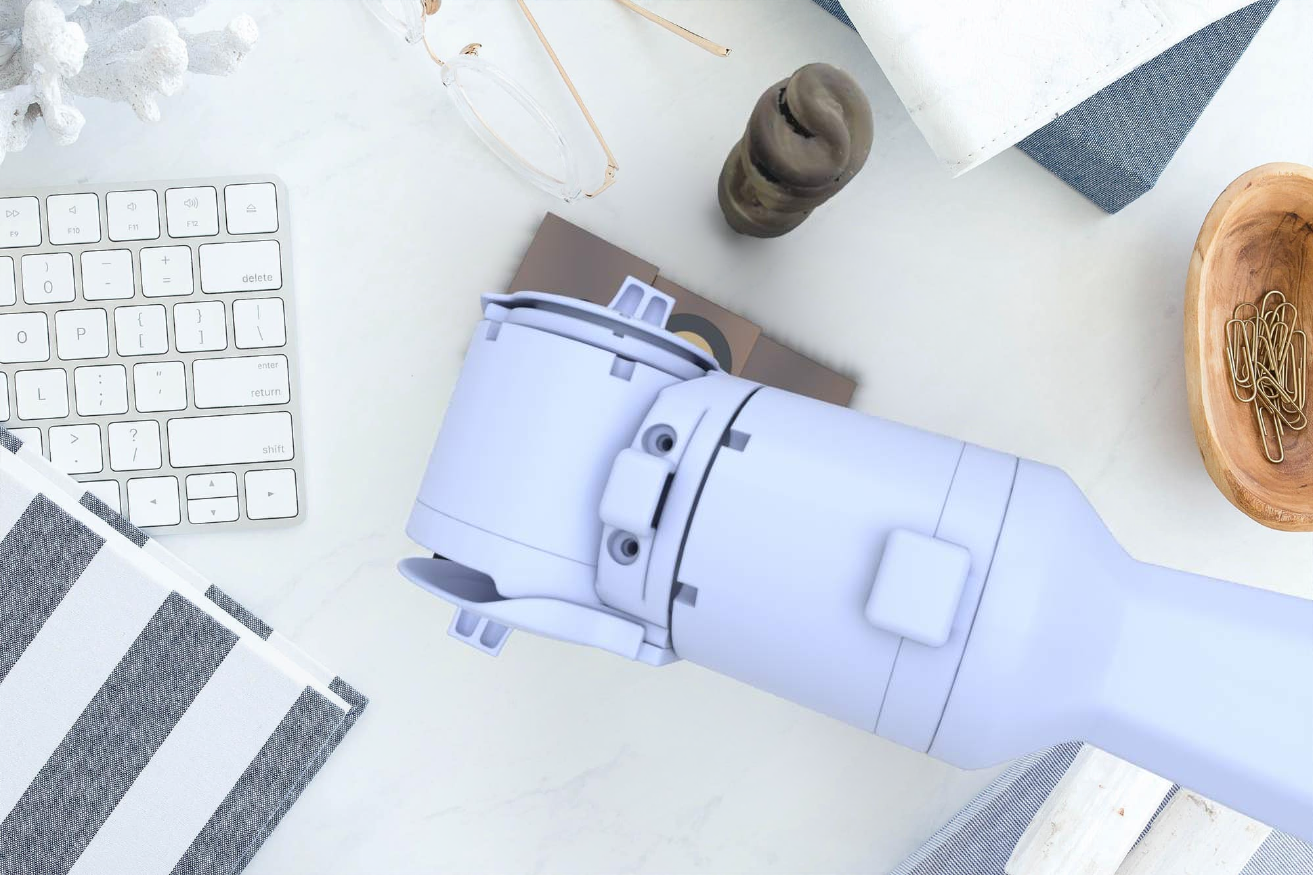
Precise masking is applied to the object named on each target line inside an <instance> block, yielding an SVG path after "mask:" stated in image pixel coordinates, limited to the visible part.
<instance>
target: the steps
mask: <svg viewBox="0 0 1313 875" xmlns="http://www.w3.org/2000/svg"><path fill="white" fill-rule="evenodd" d="M659 271H660V267H658V266H656V265H654V264H653V263H650V262H648V261H646V260H645V259H643V258H640V257H638V256H637V255H635V254H633V253H631V252H629V251H627V250H625V249H623V248H622V247H619V246H617V245H615V244H613V243H611V242H609V241H608V240H605V239H603V238H601V237H600V236H598V235H596V234H594V233H592V232H590V231H588V230H586V229H584V228H582V227H580V226H578V225H576V224H574V223H572V222H570V221H568V220H566V219H565V218H562V217H561V216H558V215H556V214H554V213H553V212H550V211H547V212H546V214H545V215H544V218H543V219H542V222H541V224H540V226H539V229H537V232H536V234H535V235H534V238H533V239H532V242H531V244H530V246H529V248H528V249H527V251H526V254H525V256H524V258H523V260H522V262H521V264H520V266H519V268H518V269H517V272H516V274H515V276H514V278H513V280H512V282H511V284H510V286H509V288H508V289H507V292H506V295H511V294H514V293H516V292H520V291H533V292H541V293H547V294H554V295H560V296H565V297H570V298H575V299H586V300H589V301H592V302H594V303H596V304H598V305H601V306H604V307H607V306H608V305H609V304H610V303H611V302H612V300H613V299H614V298H615V296H616V295H617V293H618V292H619V290H620V288H621V287H622V285H623V283H624V281H625V280H626V278H627V276H632V277H634V278H635V279H637V280H639V281H641V282H643V283H645V284H647V285H649V286H651V287H653V288H655V289H657V290H658V291H660V292H662V293H664V294H666V295H668V296H670V297H672V298H674V299H675V304H674V306H673V308H672V311H671V313H670V315H673V314H679V313H687V314H694V315H697V316H700V317H703V318H705V319H707V320H708V321H710V322H711V323H713V324H714V325H715V326H716V327H717V328H718V329H719V330H720V331H721V332H722V334H723V335H724V337H725V338H726V340H727V342H728V345H729V348H730V351H731V357H732V368H731V373H730V375H732V376H735V377H739V378H743V379H746V380H750V381H753V382H757V383H760V384H764V385H766V386H769V387H774V388H778V389H781V390H785V391H788V392H792V393H795V394H799V395H802V396H806V397H810V398H813V399H817V400H820V401H824V402H827V403H831V404H835V405H838V406H842V407H845V408H848V405H849V403H850V401H851V399H852V396H853V393H854V392H855V390H856V388H857V386H858V382H856V381H854V380H852V379H850V378H848V377H846V376H844V375H842V374H841V373H839V372H836V371H834V370H832V369H831V368H829V367H827V366H825V365H823V364H821V363H819V362H817V361H815V360H813V359H811V358H809V357H807V356H805V355H803V354H801V353H799V352H797V351H795V350H793V349H791V348H790V347H788V346H785V345H783V344H781V343H779V342H777V341H775V340H773V339H772V338H770V337H768V336H765V335H763V334H762V331H763V327H762V326H760V325H757V324H755V323H754V322H751V321H750V320H748V319H746V318H744V317H742V316H740V315H738V314H736V313H734V312H733V311H730V310H729V309H726V308H724V307H723V306H720V305H718V304H717V303H714V302H713V301H710V300H709V299H706V298H704V297H702V296H700V295H699V294H696V293H695V292H693V291H691V290H689V289H687V288H685V287H683V286H681V285H679V284H678V283H676V282H673V281H671V280H669V279H668V278H665V277H663V276H662V275H660V274H658V273H659Z"/></svg>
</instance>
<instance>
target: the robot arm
mask: <svg viewBox="0 0 1313 875" xmlns="http://www.w3.org/2000/svg"><path fill="white" fill-rule="evenodd" d="M506 294H507V293H506ZM506 294H505V293H495V292H483V293H481V294H480V296H479V299H480V307H481V311H482V315H483V317H482V319H480V320H478V321H477V322H476V325H475V328H474V330H473V332H472V333H473V334H472V336H471V339H470V342H469V344H468V347H467V351H466V354H465V357H464V359H463V363H462V365H461V368H460V371H459V373H458V376H457V379H456V382H455V385H454V388H453V391H452V393H451V397H450V399H449V402H448V404H447V408H446V411H445V414H444V417H443V419H442V423H441V425H440V428H439V431H438V434H437V437H436V439H435V442H434V446H433V448H432V451H431V454H430V457H429V460H428V462H427V465H426V468H425V471H424V474H423V477H422V479H421V483H420V486H419V488H418V490H417V494H416V498H415V500H414V503H413V506H412V509H411V511H410V514H409V517H408V520H407V523H406V525H405V529H404V532H405V535H406V536H407V537H408V538H409V539H410V540H412V541H413V542H414V543H417V544H418V545H420V546H421V547H422V548H425V549H427V550H429V551H431V552H432V553H433V555H432V557H421V556H413V557H412V556H411V557H404V558H402V559H400V560H398V562H397V564H396V569H397V570H398V573H399V574H400V575H401V576H403V577H404V578H405V579H407V580H408V581H410V582H411V583H412V584H414V585H415V586H417V587H419V588H421V589H422V590H425V591H426V592H428V593H430V594H432V595H434V596H436V597H438V598H440V599H442V600H444V601H446V602H448V603H450V604H452V605H454V606H456V610H455V612H454V615H453V617H452V619H451V622H450V623H449V627H448V628H447V631H446V634H447V636H449V637H451V638H453V639H455V640H458V641H460V642H462V643H464V644H466V645H468V646H471V647H472V648H475V649H476V650H479V651H481V652H483V653H485V654H487V655H489V656H491V657H494V658H497V657H498V656H499V654H500V652H501V651H502V650H503V647H504V645H505V644H506V642H507V640H508V639H509V637H510V636H511V635H512V633H513V631H514V630H516V631H519V632H523V633H526V634H529V635H533V636H536V637H540V638H545V639H547V640H548V639H549V640H551V641H557V642H562V643H567V644H571V645H579V646H583V647H589V648H595V649H598V650H603V651H605V652H608V653H611V654H612V653H613V654H615V655H617V656H620V657H623V658H625V659H628V660H630V661H634V662H640V663H643V664H646V665H649V666H652V667H655V668H660V667H664V666H667V665H671V664H674V663H678V662H680V661H687V662H689V663H691V664H695V665H697V666H700V667H702V668H705V669H707V670H710V671H712V672H715V673H717V674H720V675H722V676H725V677H727V678H730V679H732V680H735V681H737V682H740V683H743V684H745V685H747V686H750V687H753V688H754V689H757V690H760V691H762V692H765V693H768V694H771V695H773V696H776V697H778V698H780V699H783V700H786V701H788V702H791V703H793V704H796V705H798V706H801V707H804V708H806V709H809V710H811V711H812V712H813V711H814V712H816V713H818V714H820V715H824V716H826V717H828V718H831V719H833V720H835V721H839V722H841V723H842V724H843V723H844V724H846V725H849V726H851V727H854V728H856V729H858V730H861V731H864V732H866V733H869V734H872V735H875V736H877V737H879V738H883V739H885V740H887V741H890V742H892V743H895V744H898V745H900V746H902V747H906V748H907V749H910V750H913V751H915V752H918V753H920V754H923V755H925V754H926V756H929V757H931V758H933V759H936V760H938V761H940V762H943V763H945V764H947V765H950V766H953V767H955V768H958V769H960V770H962V771H970V772H976V771H980V770H986V769H990V768H994V767H997V766H999V765H1003V764H1005V763H1008V762H1011V761H1014V760H1018V759H1021V758H1023V757H1026V756H1029V755H1032V754H1035V753H1037V752H1041V751H1043V750H1046V749H1049V748H1052V747H1055V746H1058V745H1062V744H1068V743H1074V742H1081V743H1085V744H1087V745H1090V746H1092V747H1094V748H1096V749H1099V750H1101V751H1103V752H1105V753H1107V754H1109V755H1112V756H1114V757H1116V758H1118V759H1120V760H1122V761H1125V762H1127V763H1129V764H1131V765H1133V766H1136V767H1137V768H1140V769H1142V770H1144V771H1147V772H1148V773H1151V774H1153V775H1156V776H1157V777H1160V778H1163V779H1164V780H1166V781H1169V782H1171V783H1173V784H1175V785H1177V786H1180V787H1182V788H1184V789H1186V790H1189V791H1191V792H1193V793H1195V794H1197V795H1199V796H1202V797H1204V798H1207V799H1208V800H1211V801H1212V802H1215V803H1217V804H1219V805H1221V806H1224V807H1226V808H1228V809H1230V810H1232V811H1235V812H1237V813H1239V814H1241V815H1244V816H1246V817H1248V818H1250V819H1252V820H1253V821H1256V822H1259V823H1260V824H1263V825H1266V826H1268V827H1269V828H1272V829H1273V830H1276V831H1279V832H1280V833H1282V834H1285V835H1287V836H1290V837H1292V838H1294V839H1296V840H1298V841H1300V842H1303V843H1305V844H1307V845H1309V846H1311V847H1313V600H1312V599H1309V598H1304V597H1300V596H1295V595H1290V594H1287V593H1283V592H1278V591H1274V590H1269V589H1265V588H1261V587H1256V586H1252V585H1246V584H1243V583H1238V582H1235V581H1234V582H1233V581H1229V580H1225V579H1221V578H1216V577H1211V576H1208V575H1203V574H1199V573H1193V572H1190V571H1185V570H1181V569H1177V568H1172V567H1167V566H1163V565H1159V564H1154V563H1149V562H1145V561H1140V560H1138V559H1136V558H1135V557H1133V556H1132V555H1131V554H1130V552H1128V551H1127V550H1126V549H1125V548H1124V547H1123V546H1122V545H1121V544H1120V542H1118V540H1117V539H1116V537H1115V535H1113V533H1112V532H1111V530H1110V529H1109V528H1108V526H1107V525H1106V523H1105V522H1104V520H1103V519H1102V518H1101V516H1100V514H1099V513H1098V512H1097V510H1096V508H1094V506H1093V505H1092V503H1091V502H1090V500H1089V499H1088V498H1087V497H1086V494H1084V492H1083V491H1082V490H1081V489H1080V487H1079V486H1078V484H1077V483H1076V482H1075V481H1074V480H1073V478H1072V477H1071V476H1070V475H1069V474H1068V473H1067V472H1066V471H1065V470H1064V469H1062V468H1060V467H1059V466H1056V465H1052V464H1048V463H1046V462H1045V463H1044V462H1040V461H1037V460H1033V459H1030V458H1026V457H1023V456H1022V457H1021V456H1017V455H1015V454H1013V453H1012V454H1011V453H1009V452H1004V451H1001V450H997V449H994V448H990V447H988V446H983V445H980V444H976V443H972V442H969V441H966V440H962V439H959V438H956V437H951V436H948V435H944V434H941V433H937V432H934V431H930V430H926V429H924V428H920V427H917V426H912V425H909V424H905V423H901V422H899V421H896V420H890V419H888V418H884V417H881V416H878V415H873V414H870V413H868V412H867V413H866V412H862V411H859V410H856V409H852V408H848V407H846V408H845V407H842V406H838V405H835V404H831V403H827V402H824V401H820V400H817V399H813V398H810V397H806V396H802V395H799V394H795V393H792V392H788V391H785V390H781V389H778V388H774V387H769V386H766V385H764V384H760V383H757V382H753V381H750V380H746V379H743V378H739V377H735V376H732V375H729V374H728V373H726V372H725V371H723V370H722V369H721V368H720V367H719V363H718V362H717V360H716V359H715V358H714V357H712V356H711V355H710V354H708V353H707V352H705V351H704V350H702V349H701V348H699V347H697V346H695V345H694V344H692V343H690V342H688V341H687V340H685V339H683V338H681V337H679V336H677V335H675V334H673V333H671V332H669V331H667V330H665V326H666V323H667V320H668V318H669V315H670V313H671V311H672V308H673V306H674V304H675V299H674V298H672V297H670V296H668V295H666V294H664V293H662V292H660V291H658V290H657V289H655V288H653V287H651V286H649V285H647V284H645V283H643V282H641V281H639V280H637V279H635V278H634V277H632V276H627V278H626V280H625V281H624V283H623V285H622V287H621V288H620V290H619V292H618V293H617V295H616V296H615V298H614V299H613V300H612V302H611V303H610V304H609V305H608V306H607V307H604V306H601V305H598V304H596V303H594V302H592V301H589V300H586V299H575V298H570V297H565V296H560V295H554V294H547V293H541V292H533V291H520V292H516V293H514V294H511V295H506Z"/></svg>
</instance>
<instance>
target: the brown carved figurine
mask: <svg viewBox="0 0 1313 875" xmlns="http://www.w3.org/2000/svg"><path fill="white" fill-rule="evenodd" d="M874 125H875V124H874V118H873V112H872V108H871V105H870V101H869V99H868V97H867V95H866V93H865V91H864V89H863V88H862V87H861V85H860V84H859V83H858V81H857V80H856V79H855V78H854V77H853V76H852V75H851V74H850V73H848V72H847V71H846V70H845V69H843V68H842V67H839V66H837V65H834V64H831V63H826V62H821V61H820V62H812V63H806V64H805V65H803V66H800V67H798V69H796V70H794V72H793V73H792V75H791V76H788V77H785V78H783V79H782V80H780V81H777V82H776V83H774V84H773V85H770V86H769V87H768V88H767V89H766V90H765V91H764V92H763V93H761V95H760V97H759V98H758V99H757V101H756V103H755V105H754V108H753V110H752V112H751V115H750V117H749V118H748V120H747V123H746V126H745V129H744V133H743V135H742V137H741V138H740V139H739V140H738V141H737V142H736V143H735V145H734V146H733V147H732V148H731V149H730V152H729V153H728V155H727V157H726V158H725V161H724V163H723V165H722V167H721V171H720V174H719V176H718V180H717V199H718V203H719V206H720V209H721V211H722V213H723V215H724V219H725V221H726V224H728V226H729V227H730V228H731V229H732V230H733V231H735V232H737V233H738V234H741V235H746V236H749V237H752V238H758V239H762V240H764V239H765V240H766V239H775V238H779V237H783V236H784V235H787V234H789V233H791V232H792V231H794V230H795V229H797V227H799V226H801V224H803V223H804V222H805V221H806V220H807V219H808V218H809V217H810V215H812V213H813V212H814V211H815V209H816V208H817V207H820V206H822V205H824V204H825V203H827V202H828V201H829V200H830V199H831V198H833V197H834V196H836V195H837V194H838V193H840V191H842V190H844V188H845V187H846V186H847V185H848V184H849V183H850V182H851V181H852V180H853V179H854V178H855V177H856V176H857V175H858V174H859V172H861V170H862V169H863V167H864V166H865V164H866V162H867V160H868V158H869V156H870V153H871V149H872V146H873V142H874V133H875V132H874V131H875V130H874V129H875V126H874Z"/></svg>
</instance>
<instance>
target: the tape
mask: <svg viewBox="0 0 1313 875" xmlns="http://www.w3.org/2000/svg"><path fill="white" fill-rule="evenodd" d="M665 330H667V331H669V332H671V333H673V334H675V335H677V336H679V337H681V338H683V339H685V340H687V341H688V342H690V343H692V344H694V345H695V346H697V347H699V348H701V349H702V350H704V351H705V352H707V353H708V354H710V355H711V356H712V357H714V358H715V359H716V360H717V362H718V363H719V367H720V368H721V369H722V370H723V371H725V372H726V373H728V374H729V375H730V373H731V368H732V357H731V351H730V348H729V345H728V342H727V340H726V338H725V337H724V335H723V334H722V332H721V331H720V330H719V329H718V328H717V327H716V326H715V325H714V324H713V323H711V322H710V321H708V320H707V319H705V318H703V317H700V316H697V315H694V314H687V313H679V314H673V315H669V318H668V320H667V323H666V326H665Z"/></svg>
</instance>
